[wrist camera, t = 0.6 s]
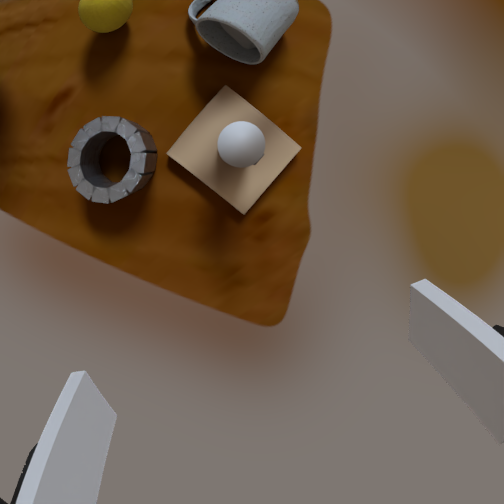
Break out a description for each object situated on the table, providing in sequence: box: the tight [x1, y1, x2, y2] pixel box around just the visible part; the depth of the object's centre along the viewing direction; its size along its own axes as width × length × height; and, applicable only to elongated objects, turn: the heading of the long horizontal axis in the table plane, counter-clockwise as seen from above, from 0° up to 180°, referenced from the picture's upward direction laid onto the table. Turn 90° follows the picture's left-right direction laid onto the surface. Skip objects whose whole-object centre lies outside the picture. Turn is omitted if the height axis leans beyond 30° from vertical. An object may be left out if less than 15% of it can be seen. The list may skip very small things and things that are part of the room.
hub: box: [67, 116, 158, 204], centre depth 26 cm, size 8×8×5 cm
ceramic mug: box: [188, 0, 299, 64], centre depth 21 cm, size 11×8×8 cm
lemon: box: [78, 0, 133, 33], centre depth 19 cm, size 6×6×8 cm
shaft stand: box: [167, 85, 301, 214], centre depth 24 cm, size 10×9×11 cm
